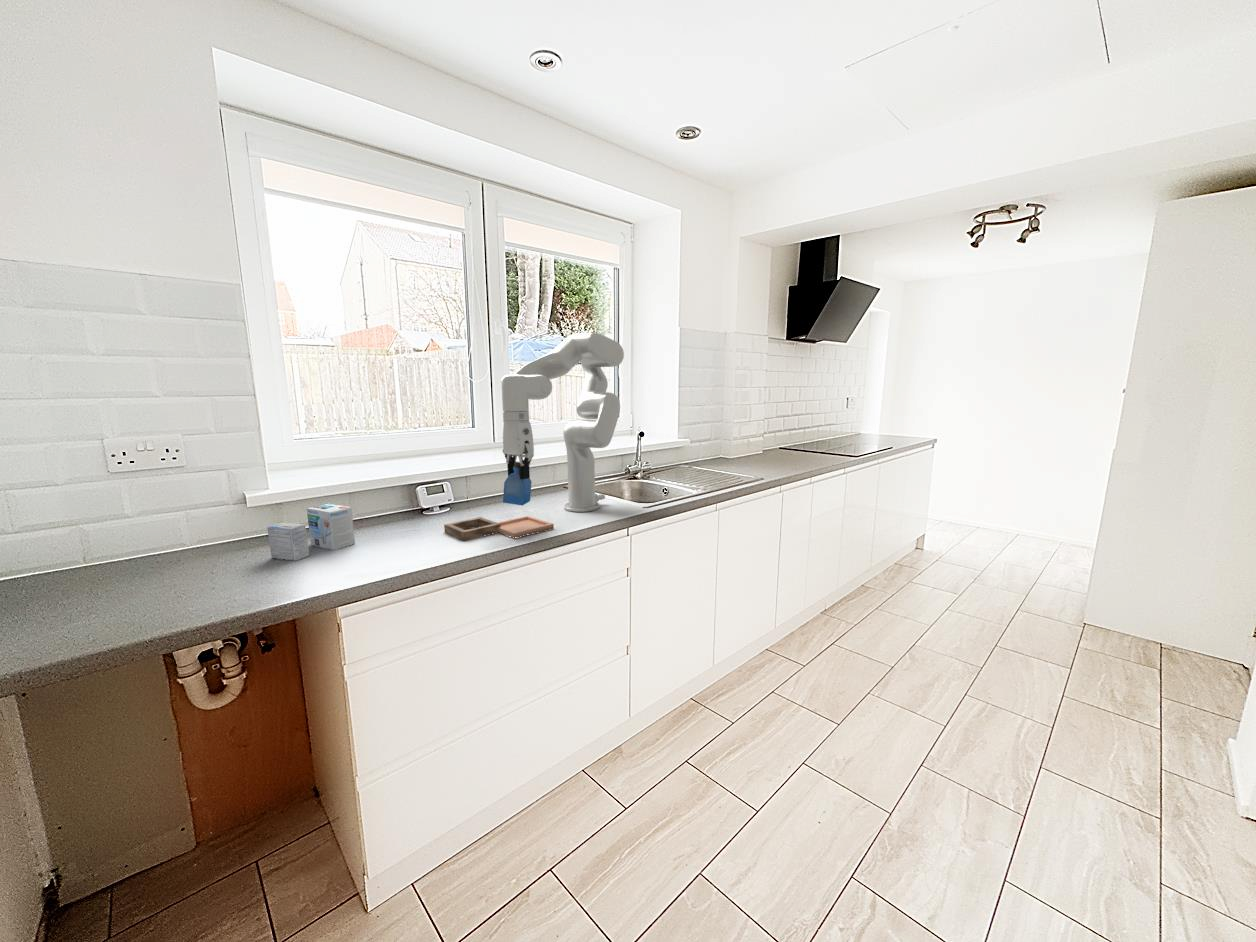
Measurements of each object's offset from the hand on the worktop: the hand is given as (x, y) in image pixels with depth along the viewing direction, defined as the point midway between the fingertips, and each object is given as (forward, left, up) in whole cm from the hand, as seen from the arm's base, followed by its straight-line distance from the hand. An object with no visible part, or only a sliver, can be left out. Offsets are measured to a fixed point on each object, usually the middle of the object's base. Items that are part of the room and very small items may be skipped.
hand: (518, 476), depth 151 cm
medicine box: (+56, -22, -17) cm, 62 cm away
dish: (0, 0, -16) cm, 16 cm away
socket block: (+12, -8, -16) cm, 22 cm away
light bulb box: (+45, -26, -17) cm, 55 cm away
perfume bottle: (+1, -1, -8) cm, 8 cm away
